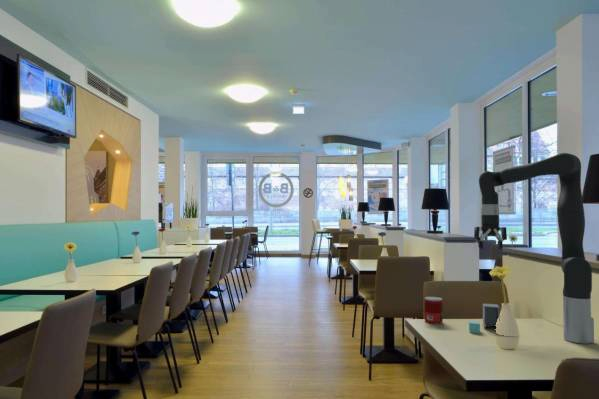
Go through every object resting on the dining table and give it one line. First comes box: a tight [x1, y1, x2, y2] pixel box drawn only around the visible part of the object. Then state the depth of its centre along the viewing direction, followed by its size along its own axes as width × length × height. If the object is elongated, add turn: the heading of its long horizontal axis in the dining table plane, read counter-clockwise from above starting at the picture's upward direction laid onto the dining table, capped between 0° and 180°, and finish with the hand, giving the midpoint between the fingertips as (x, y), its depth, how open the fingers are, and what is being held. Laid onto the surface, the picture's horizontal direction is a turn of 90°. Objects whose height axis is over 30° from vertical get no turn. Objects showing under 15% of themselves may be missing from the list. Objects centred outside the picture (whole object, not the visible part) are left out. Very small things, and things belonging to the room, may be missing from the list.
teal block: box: [468, 320, 481, 334], centre depth 175 cm, size 4×4×4 cm
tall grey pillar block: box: [482, 303, 500, 330], centre depth 182 cm, size 6×6×10 cm
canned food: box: [423, 296, 444, 324], centre depth 191 cm, size 8×8×11 cm
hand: (490, 249), depth 191 cm, fingers open, 8 cm apart
